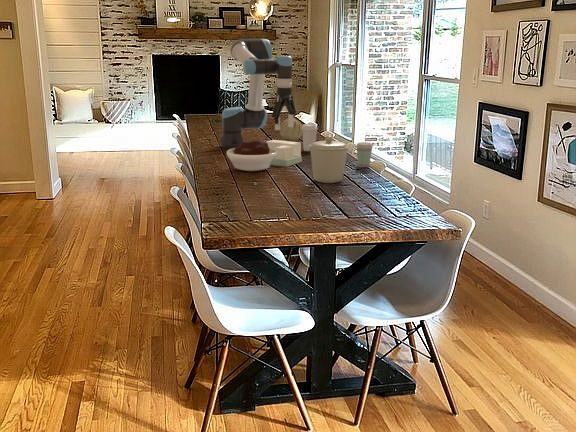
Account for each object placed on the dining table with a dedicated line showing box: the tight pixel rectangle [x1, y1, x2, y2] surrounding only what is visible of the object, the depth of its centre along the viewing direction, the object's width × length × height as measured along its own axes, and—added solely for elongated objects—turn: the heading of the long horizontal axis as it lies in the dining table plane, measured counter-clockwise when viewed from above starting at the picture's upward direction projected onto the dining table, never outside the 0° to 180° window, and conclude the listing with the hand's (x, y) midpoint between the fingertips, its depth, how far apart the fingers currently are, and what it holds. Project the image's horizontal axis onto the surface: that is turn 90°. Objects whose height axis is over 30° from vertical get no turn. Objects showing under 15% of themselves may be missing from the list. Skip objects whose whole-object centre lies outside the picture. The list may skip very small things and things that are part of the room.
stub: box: [275, 145, 293, 160], centre depth 330 cm, size 6×8×8 cm
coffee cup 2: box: [355, 142, 374, 168], centre depth 322 cm, size 8×8×12 cm
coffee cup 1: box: [301, 123, 319, 152], centre depth 368 cm, size 10×10×15 cm
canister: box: [309, 135, 349, 184], centre depth 287 cm, size 18×18×21 cm
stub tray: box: [270, 155, 303, 168], centre depth 331 cm, size 13×16×3 cm
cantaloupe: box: [279, 117, 303, 142], centre depth 400 cm, size 15×15×15 cm
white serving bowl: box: [226, 139, 277, 172], centre depth 311 cm, size 25×25×15 cm
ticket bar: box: [265, 139, 302, 156], centre depth 349 cm, size 18×8×8 cm, turn 60°
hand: (284, 128), depth 326 cm, fingers open, 13 cm apart
